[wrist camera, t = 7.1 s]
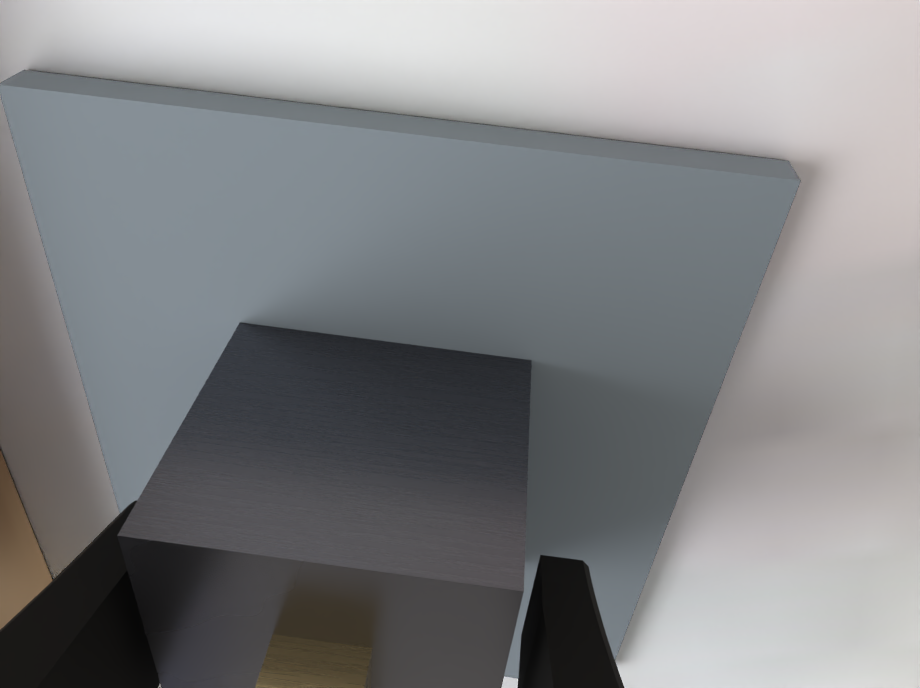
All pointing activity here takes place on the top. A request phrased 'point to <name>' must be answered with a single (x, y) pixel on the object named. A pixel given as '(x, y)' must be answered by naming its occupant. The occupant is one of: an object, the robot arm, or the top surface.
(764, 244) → the slate mat
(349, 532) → the lever cap
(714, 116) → the top surface
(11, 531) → the hand plane
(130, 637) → the robot arm
